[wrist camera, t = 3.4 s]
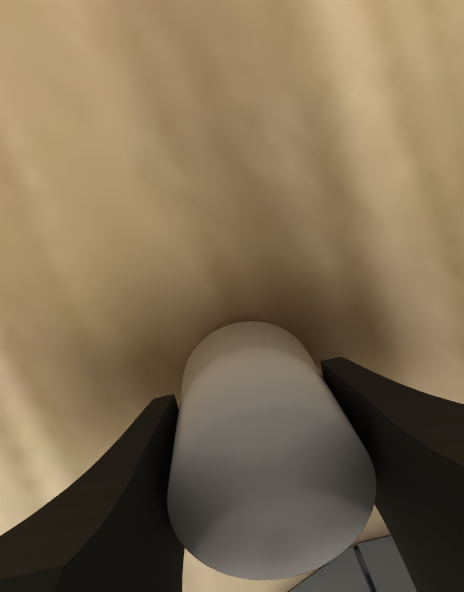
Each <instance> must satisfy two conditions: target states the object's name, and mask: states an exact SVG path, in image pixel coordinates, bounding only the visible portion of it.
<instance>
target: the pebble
mask: <svg viewBox="0 0 464 592" xmlns="http://www.w3.org/2000/svg"><path fill="white" fill-rule="evenodd" d="M375 496H376V476H375V471H374V467H373V464H372V461H371V459H370V456H369V454H368V452H367V451H366V449H365V447H364V446H363V444H362V442H361V440H360V439H359V437H358V435H357V434H356V432H355V430H354V429H353V427H352V425H351V424H350V422H349V420H348V419H347V417H346V415H345V414H344V412H343V410H342V409H341V407H340V405H339V404H338V402H337V400H336V399H335V397H334V395H333V394H332V392H331V390H330V389H329V387H328V385H327V384H326V382H325V380H324V379H323V377H322V375H321V374H320V372H319V370H318V369H317V367H316V365H315V364H314V362H313V360H312V359H311V357H310V355H309V354H308V352H307V350H306V349H305V347H304V346H303V345H302V343H301V342H300V341H299V340H298V339H297V338H296V337H295V336H294V335H292V334H291V333H289V332H288V331H286V330H285V329H283V328H281V327H279V326H276V325H273V324H270V323H265V322H258V321H244V322H237V323H233V324H230V325H226V326H224V327H222V328H219V329H217V330H216V331H214V332H212V333H211V334H209V335H208V336H207V337H205V338H204V339H203V340H202V341H201V342H200V343H199V344H198V345H197V346H196V348H195V349H194V350H193V352H192V353H191V355H190V357H189V359H188V361H187V364H186V366H185V370H184V374H183V382H182V389H181V396H180V404H179V411H178V418H177V426H176V433H175V440H174V448H173V455H172V462H171V470H170V477H169V485H168V494H167V507H168V514H169V518H170V522H171V525H172V527H173V529H174V532H175V534H176V535H177V537H178V539H179V540H180V542H181V543H182V544H183V546H184V547H185V548H186V549H187V550H188V551H189V552H190V553H191V554H192V555H193V556H194V557H195V558H196V559H198V560H199V561H201V562H202V563H204V564H205V565H207V566H209V567H210V568H212V569H214V570H216V571H219V572H221V573H224V574H227V575H230V576H234V577H238V578H243V579H251V580H276V579H283V578H289V577H293V576H297V575H301V574H304V573H307V572H309V571H312V570H314V569H316V568H318V567H320V566H322V565H324V564H326V563H328V562H329V561H331V560H333V559H334V558H336V557H337V556H338V555H340V554H341V553H342V552H343V551H344V550H346V549H347V548H348V547H349V546H350V545H351V544H352V543H353V542H354V541H355V539H356V538H357V537H358V536H359V534H360V533H361V532H362V530H363V528H364V527H365V525H366V523H367V522H368V519H369V517H370V515H371V512H372V510H373V506H374V502H375Z"/></svg>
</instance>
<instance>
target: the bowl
mask: <svg viewBox="0 0 464 592" xmlns="http://www.w3.org/2000/svg"><path fill="white" fill-rule="evenodd" d="M357 546H358V549H355V548H354V547H353V546H351V547H350V548H348V549H347V550H345V551H344V552H343V553H341V554H340V555H339V556H337V557H336V558H334V559H333V560H332V561H330V562H329V563H328V564H326V565H325V566H324V567H322V568H321V569H319V570H318V571H317V572H315V573H314V574H313V575H311V576H310V577H308V578H307V579H306V580H304V581H303V582H302V583H300V584H299V585H297V586H296V587H295V588H293V589H292V590H291V591H289V592H417V591H416V588H415V586H414V584H413V582H412V579H411V577H410V575H409V573H408V570H407V568H406V566H405V564H404V562H403V560H402V557H401V555H400V553H399V551H398V549H397V547H396V544H395V542H394V540H393V538H392V536H388V537H384V538H379V539H375V540H370V541H366V542H361V543H357Z"/></svg>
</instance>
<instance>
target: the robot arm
mask: <svg viewBox="0 0 464 592" xmlns="http://www.w3.org/2000/svg"><path fill="white" fill-rule="evenodd" d="M321 367H322V373H323V379H324V380H325V382H326V384H327V385H328V387H329V389H330V390H331V392H332V394H333V395H334V397H335V399H336V400H337V402H338V404H339V405H340V407H341V409H342V410H343V412H344V414H345V415H346V417H347V419H348V420H349V422H350V424H351V425H352V427H353V429H354V430H355V432H356V434H357V435H358V437H359V439H360V440H361V442H362V444H363V446H364V447H365V449H366V451H367V452H368V454H369V456H370V459H371V461H372V464H373V467H374V471H375V476H376V496H375V502H374V504H375V506H376V508H377V509H378V511H379V513H380V514H381V516H382V518H383V520H384V522H385V524H386V526H387V528H388V529H389V531H390V534H391V536H392V538H393V540H394V542H395V544H396V547H397V549H398V551H399V553H400V555H401V557H402V560H403V562H404V564H405V566H406V568H407V570H408V573H409V575H410V577H411V579H412V582H413V584H414V586H415V588H416V591H417V592H464V404H461V403H457V402H453V401H450V400H446V399H443V398H439V397H436V396H432V395H429V394H426V393H423V392H420V391H418V390H415V389H412V388H410V387H407V386H405V385H402V384H399V383H397V382H395V381H392V380H390V379H388V378H385V377H383V376H381V375H379V374H376V373H374V372H372V371H370V370H368V369H366V368H364V367H362V366H360V365H358V364H356V363H354V362H351V361H349V360H347V359H345V358H342V357H337V358H333V359H328V360H324V361H321ZM178 411H179V409H178V406H177V402H176V399H175V395H174V394H173V395H168V396H164V397H159V398H155V399H153V400H152V401H151V402H150V404H149V405H148V406H147V407H146V408H145V409H144V410H143V412H142V413H141V414H140V415H139V416H138V418H137V419H136V420H135V421H134V422H133V423H132V424H131V426H130V427H129V428H128V429H127V430H126V431H125V433H124V434H123V435H122V436H121V437H120V438H119V439H118V440H117V441H116V442H115V443H114V444H113V445H112V447H111V448H110V449H109V450H108V451H107V452H106V453H105V454H104V455H103V456H102V457H101V458H100V459H99V460H98V461H97V462H96V463H95V464H94V465H93V466H92V467H91V468H90V469H89V470H87V471H86V472H85V473H84V474H83V475H82V476H81V477H80V478H78V479H77V480H76V481H75V482H74V483H73V484H72V485H70V486H69V487H68V488H67V489H66V490H64V491H63V492H62V493H60V494H59V495H58V496H56V497H55V498H54V499H52V500H51V501H50V502H48V503H47V504H46V505H44V506H43V507H42V508H40V509H39V510H38V511H37V512H35V513H34V514H33V515H31V516H30V517H28V518H27V519H25V520H24V521H22V522H21V523H19V524H18V525H16V526H15V527H13V528H12V529H10V530H9V531H7V532H6V533H4V534H3V535H1V536H0V592H182V573H183V559H184V549H185V547H184V546H183V544H182V543H181V542H180V540H179V539H178V537H177V535H176V534H175V532H174V529H173V527H172V525H171V522H170V518H169V514H168V507H167V494H168V485H169V477H170V470H171V462H172V455H173V448H174V440H175V433H176V426H177V418H178Z"/></svg>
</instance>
